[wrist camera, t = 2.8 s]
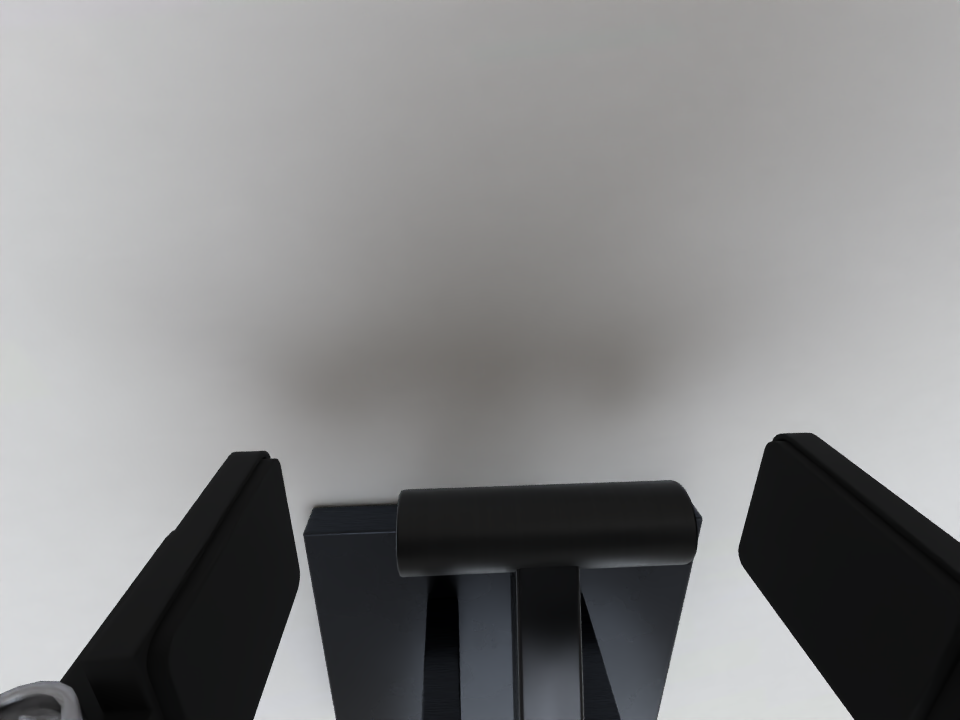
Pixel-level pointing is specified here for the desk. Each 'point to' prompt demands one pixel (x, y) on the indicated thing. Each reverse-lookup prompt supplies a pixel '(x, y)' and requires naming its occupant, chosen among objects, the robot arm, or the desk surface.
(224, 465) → the robot arm
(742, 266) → the desk surface
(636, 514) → the lever
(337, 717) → the bracket
